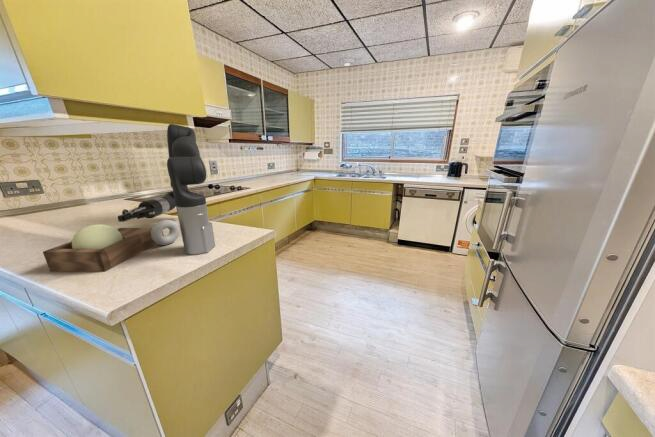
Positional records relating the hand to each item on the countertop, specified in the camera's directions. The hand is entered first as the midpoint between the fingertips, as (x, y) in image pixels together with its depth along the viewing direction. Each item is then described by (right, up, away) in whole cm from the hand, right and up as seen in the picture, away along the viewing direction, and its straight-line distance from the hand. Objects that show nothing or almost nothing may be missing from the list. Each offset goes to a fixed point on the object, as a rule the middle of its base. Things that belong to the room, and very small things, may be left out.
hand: (120, 219), depth 83 cm
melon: (0, -8, -8) cm, 11 cm away
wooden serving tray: (0, -12, -2) cm, 12 cm away
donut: (+14, -10, +6) cm, 18 cm away
